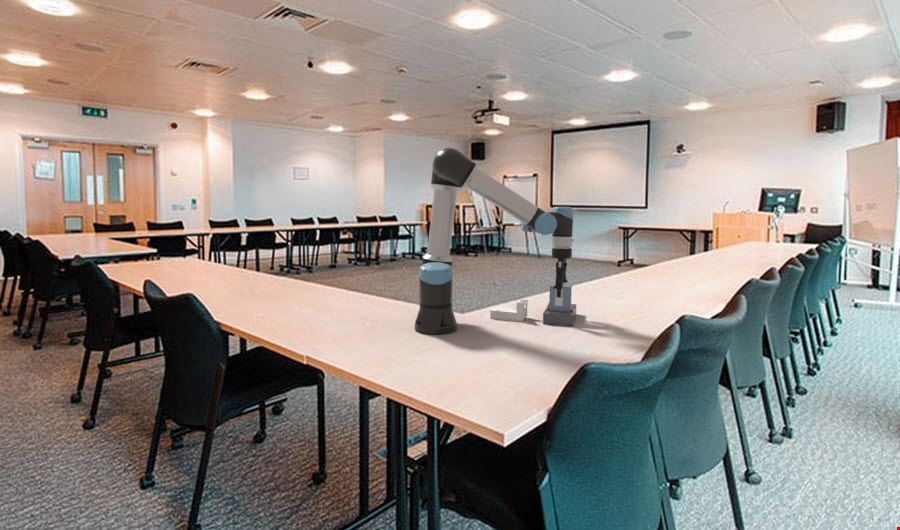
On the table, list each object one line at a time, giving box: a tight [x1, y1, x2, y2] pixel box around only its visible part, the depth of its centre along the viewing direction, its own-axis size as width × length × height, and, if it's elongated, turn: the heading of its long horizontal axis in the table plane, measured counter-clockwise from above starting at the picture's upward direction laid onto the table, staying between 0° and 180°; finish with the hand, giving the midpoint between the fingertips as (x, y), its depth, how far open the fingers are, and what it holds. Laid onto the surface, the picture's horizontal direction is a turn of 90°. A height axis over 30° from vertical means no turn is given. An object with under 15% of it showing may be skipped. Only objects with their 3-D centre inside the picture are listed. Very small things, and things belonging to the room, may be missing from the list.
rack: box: [542, 303, 577, 327], centre depth 210 cm, size 11×21×4 cm, turn 164°
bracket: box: [489, 298, 528, 323], centre depth 210 cm, size 13×7×8 cm, turn 69°
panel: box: [548, 283, 573, 312], centre depth 207 cm, size 8×4×13 cm, turn 74°
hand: (560, 302), depth 207 cm, fingers open, 13 cm apart
